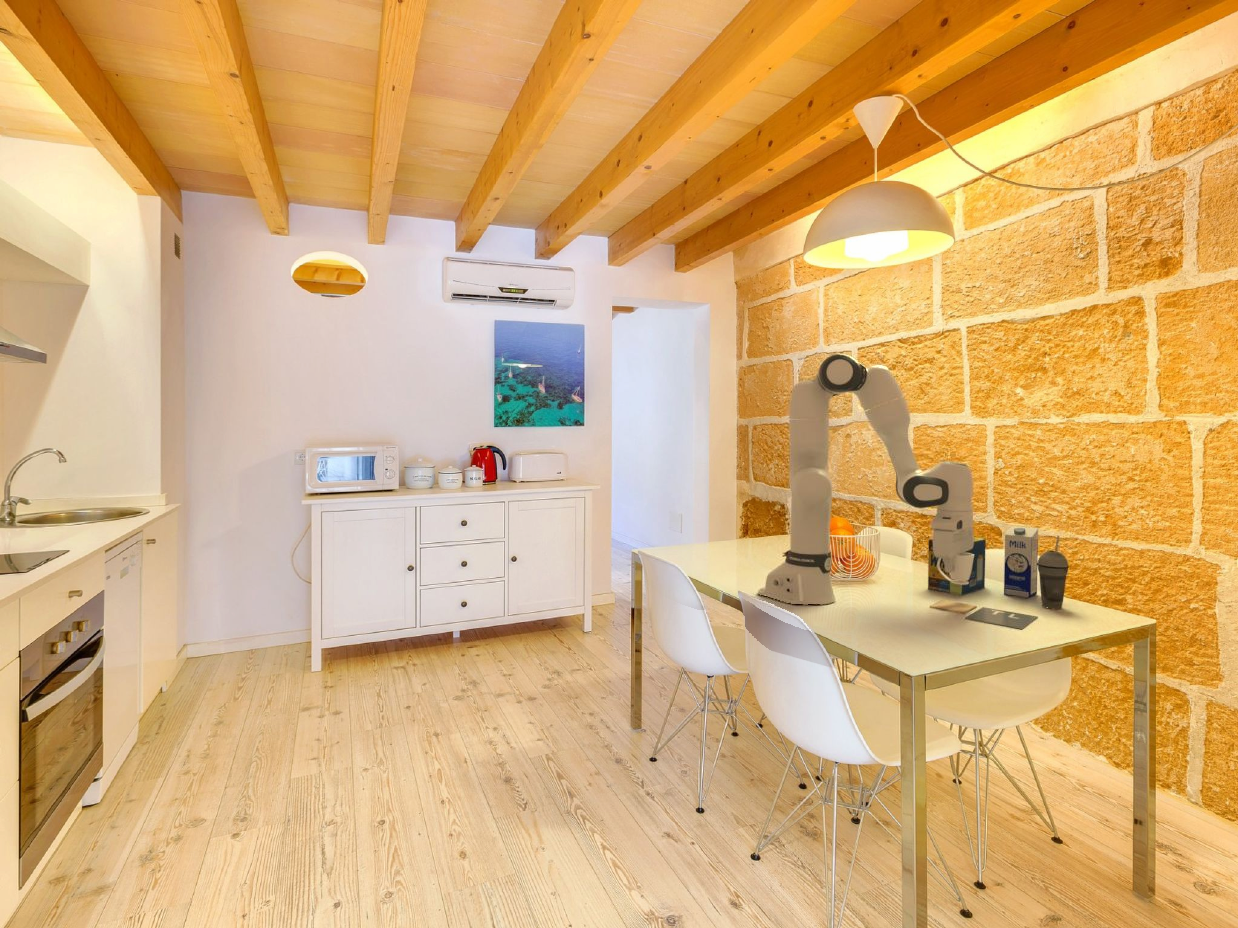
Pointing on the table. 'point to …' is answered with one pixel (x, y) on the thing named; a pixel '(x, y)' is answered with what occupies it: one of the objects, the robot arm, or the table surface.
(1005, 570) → the milk carton
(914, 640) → the table surface
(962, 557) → the cup
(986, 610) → the tile
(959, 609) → the cork pad
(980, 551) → the protein box
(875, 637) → the table surface
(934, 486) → the robot arm
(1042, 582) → the beverage cup
